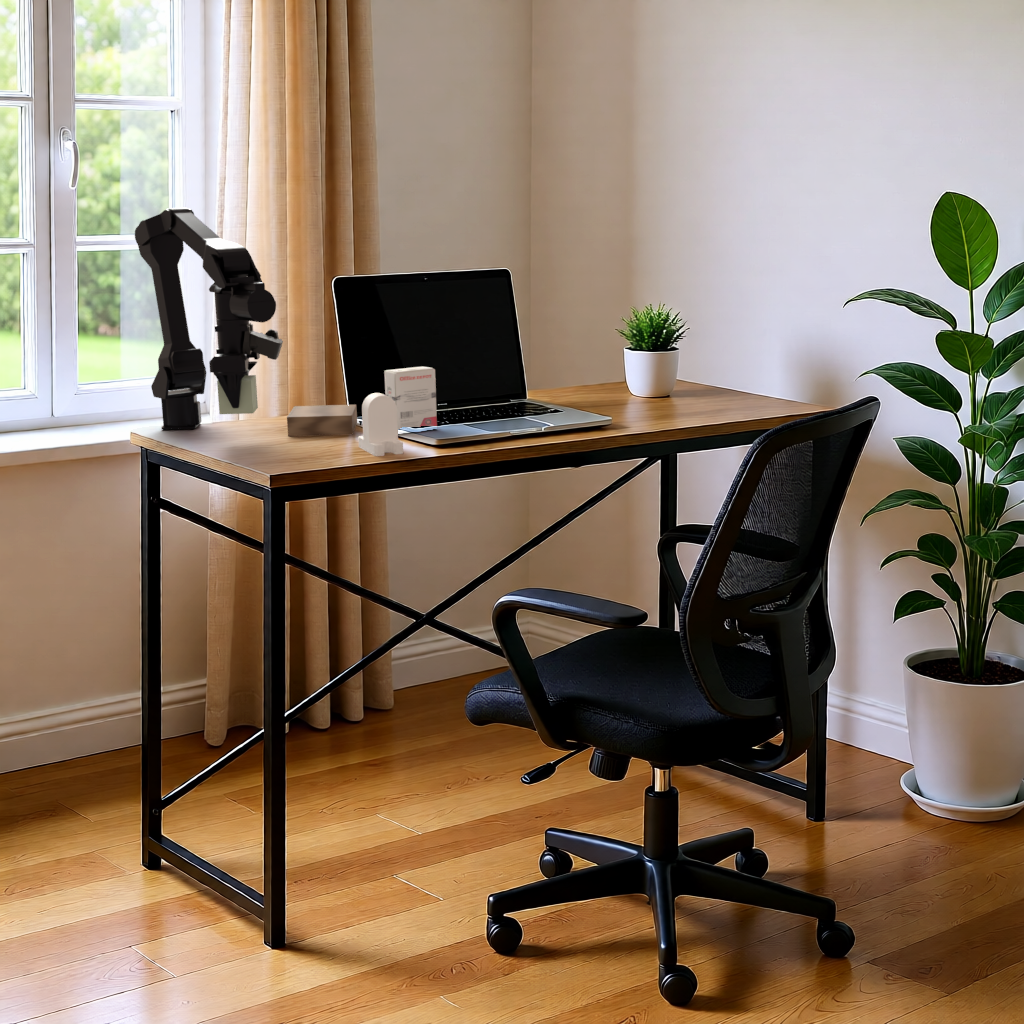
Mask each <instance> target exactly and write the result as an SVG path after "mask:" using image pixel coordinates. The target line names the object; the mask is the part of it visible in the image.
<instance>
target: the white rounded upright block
mask: <svg viewBox="0 0 1024 1024" xmlns="http://www.w3.org/2000/svg"><path fill="white" fill-rule="evenodd" d="M361 415H362V417H361V418H362V419H361V420H362V435H359V436H358V438H357V439H358V448H360V449H361V450H363V451H365V452H366V453H368V454H371V455H372V456H374V457H383V456H384V457H385V453H390V454H391V453H392V454H394V455H402V454H404V442H403V441H401V440H400V439H399V435H398V423H397V407H396V404H395V402H394V400H393V399H392V398H390V397H388V396H386V395H385V394H384V393H380V392H374V393H370V394H368V395H367V396H366V397H365V398H364V399H363V402H362V404H361Z"/></svg>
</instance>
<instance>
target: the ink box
mask: <svg viewBox="0 0 1024 1024" xmlns="http://www.w3.org/2000/svg"><path fill="white" fill-rule="evenodd" d="M383 371H384V372H383V374H384V390H385V391H384V393H385V394H384V395H386V396H388V397H390V398H392V399H393V400H394V402H395V404H396V407H397V423H398V429H400V428H402V427H421V426H437V427H438V421H437V420H438V418H437V414H438V413H437V388H436V386H437V385H436V383H437V382H436V380H437V379H436V369H435V368H433V367H429V366H422V365H421V366H413V367H412V366H411V367H406V368H405V367H404V368H395V369H386V370H383Z"/></svg>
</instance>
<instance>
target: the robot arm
mask: <svg viewBox="0 0 1024 1024" xmlns="http://www.w3.org/2000/svg"><path fill="white" fill-rule="evenodd" d="M134 240H135V242H136V244H137V247H138V250H139V255H140V257H141V258H142V259H143V260H144V262H145V263H147V265H148V266H149V268H150V269H151V274H152V280H153V286H154V292H155V297H156V305H157V309H158V316H159V322H160V327H161V328H160V329H161V334H162V340H163V346H162V348H161V352H160V354H159V356H158V360H157V365H158V366H157V367H158V371H157V372H156V375H155V377H154V379H153V381H152V384H151V386H150V387H151V391H152V396H153V398H157V399H160V400H161V412H162V422H163V425H162V426H161V427H160V428H161V429H160V430H162V429H170V430H195V429H196V428H198V427H199V425H201V423H202V411H201V402H200V400H198V399H197V398H198V397H197V396H198V395H203V394H205V386H206V379H207V370H206V369H207V368H206V366H205V363H204V353H203V351H202V349H201V348H197V347H196V346H195V345H194V344H193V342H192V341H191V338H190V333H189V326H188V319H187V313H186V308H185V307H186V306H185V302H184V297H183V295H184V294H183V291H182V290H183V289H182V285H181V283H182V282H181V278H180V271H179V263H180V260H181V258H182V255H183V252H184V251H185V250H184V248H185V247H184V243H185V245H187V246H188V247H189V249H191V250H193V252H194V253H196V255H198V256H199V257H200V258H201V259H202V268H203V270H204V271H205V272H206V274H207V276H208V277H209V278H210V279H211V280H212V281H213V284H211V285H210V286H209V288H208V291H209V292H210V293H214V303H215V304H214V307H215V317H216V318H215V319H216V320H215V321H216V325H215V326H214V332H215V333H217V334H216V336H217V345H218V346H217V348H216V352H215V353H216V354H215V355H214V356H213V357H212V358H211V359H210V360H209V373H213V375H214V376H215V377H216V379H217V381H219V383H220V385H221V387H222V389H223V390H224V392H225V394H226V396H227V398H228V400H229V402H230V404H231V406H232V408H239V403H240V394H241V384H242V378H243V377H244V376H245V375H249V374H250V371H251V370H252V369H253V368H254V367H255V366H256V365H257V363H258V361H257V360H259V359H260V355H262V356H265V357H267V359H269V360H277V359H278V358H279V356H280V352H281V350H282V347H283V343H284V340H283V339H282V338H279V332H278V331H277V330H274V329H271V328H269V330H267V332H265V333H263V332H258V331H255V330H254V325H253V324H252V322H257V323H266V322H268V321H270V320H271V319H272V318H273V317H274V315H275V313H276V310H277V302H276V300H275V297H274V295H273V294H272V293H271V292H270V291H269V290H267V289H266V286H265V284H266V283H265V282H263V281H262V278H261V277H262V275H261V273H260V272H259V270H258V269H257V267H256V265H255V262H254V260H253V258H252V256H251V254H250V252H249V250H248V249H247V248H246V247H245V246H243V245H241V244H239V243H237V242H234V241H230V240H226V239H223V238H222V237H220V236H219V235H218V234H216V232H214V231H213V230H212V229H211V228H210V227H209V226H207V225H206V223H204V222H203V221H201V219H199V218H198V217H197V216H196V215H195V213H194V211H193V209H191V208H188V207H172V208H171V207H170V208H166V209H165V210H163V211H162V212H161V213H158V214H157V215H154V216H152V217H149V218H146V219H145V220H144V219H143V220H141V221H140V222H139V224H138V225H137V226H136V227H135V230H134ZM251 358H253V359H254V360H255V361H250V359H251Z"/></svg>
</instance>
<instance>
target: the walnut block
mask: <svg viewBox="0 0 1024 1024" xmlns="http://www.w3.org/2000/svg"><path fill="white" fill-rule="evenodd" d="M348 405H349V406H348ZM357 410H358V409H357V404H329V405H328V404H326V405H325V404H324V405H294V406H293V408H292V409H291V410H290V412H289V414H288V415H287V416H286V421H287V425H286V426H287V437H309V436H311V437H313V436H317V437H318V436H345V435H346V436H347V435H348V436H351V435H352V436H353V435H354V433H355V430H356V427H357V424H358V412H357Z"/></svg>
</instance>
